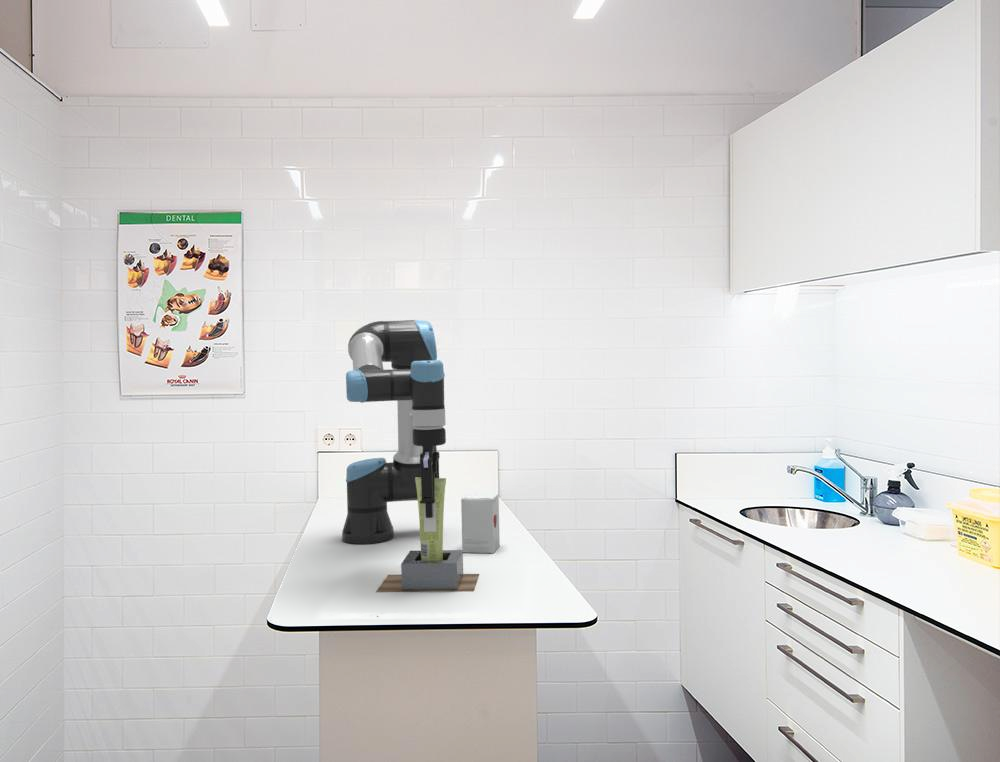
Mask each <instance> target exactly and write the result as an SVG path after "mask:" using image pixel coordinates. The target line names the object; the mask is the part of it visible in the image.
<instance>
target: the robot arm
mask: <svg viewBox="0 0 1000 762" xmlns="http://www.w3.org/2000/svg"><path fill="white" fill-rule="evenodd" d="M347 351H348V355H349V358H350V359H351V361H352V370H348V371H347V372H346V373H345V384H346V386H345V388H346V400H347V401H348V402H351V403H352V402H353V403H372V402H373V403H374V402H391V401H392V402H393V401H395V402H397V404H396V405H397V444H398V445H397V449H398V450H397V452H396V453H395V454H393V457H392V459H393V460H392V462H387V460H386V458H385V457H373V458H368V459H362V460H357V461H355V462H352V463H351V464H348V465H347V467H346V479H345V482H346V501H347V502H346V506H347V510H346V511H347V514H346V517H345V521H344V524H343V529H342V533H341V535H342V536H341V537H342V542H344V543H348V544H354V545H355V544H356V545H357V544H358V545H366V544H376V543H377V544H378V543H383V542H387V541H390V540H392V539H393V538H395V530H394V526H393V524H392V523H393V522H392V520H391V517H390V515H389V513H388V503H389V502H393V503H395V502H407V501H409V502H410V501H417V502H418V497H417V488H416V481H415V477H421V491H422V498H421V500H422V501H420V504H421V503H423V510H424V532H436V503H434V502H435V499H434V491H435V478H440V451H437V450H438V449H437V447H438V446H442V445H443V446H444V445H445V444H446V442H447V441H446V440H447V438H446V433H447V432H446V428H444V426H446V423H447V422H446V408H445V376H446V375H445V372H444V370H445V369H444V363H443V362H442V360H437V359H438V349H437V343H436V338H435V331H434V328H433V325H432V323H431V322H429V321H428V320H418V319H409V320H407V319H406V320H379V321H373V322H370V323H368V324H365V325H364V326H363V325H362V327H360V328H358V329H357V330H356V331H355V332H354V333H352V336H351V337H350V338H349V340H348V345H347ZM383 362H384V363H388V362H389V363H391V364H390V365H391V369H384V365H383ZM426 496H429V497H426Z"/></svg>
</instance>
